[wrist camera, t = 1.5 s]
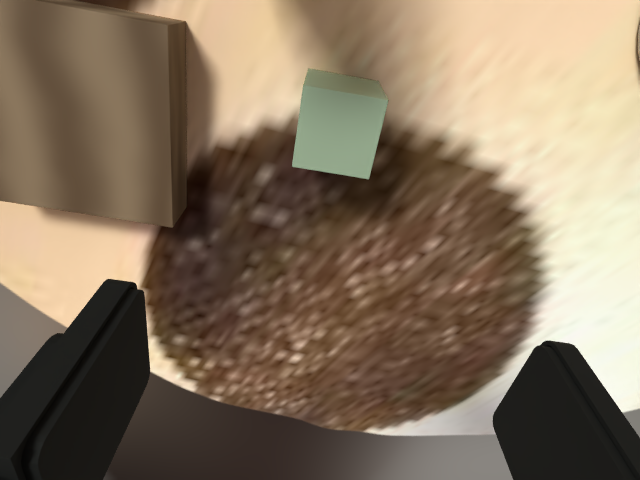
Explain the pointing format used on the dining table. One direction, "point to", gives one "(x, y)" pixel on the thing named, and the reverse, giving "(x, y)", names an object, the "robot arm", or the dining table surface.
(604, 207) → the dining table surface
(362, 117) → the green cube
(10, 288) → the dining table surface
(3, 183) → the walnut block
